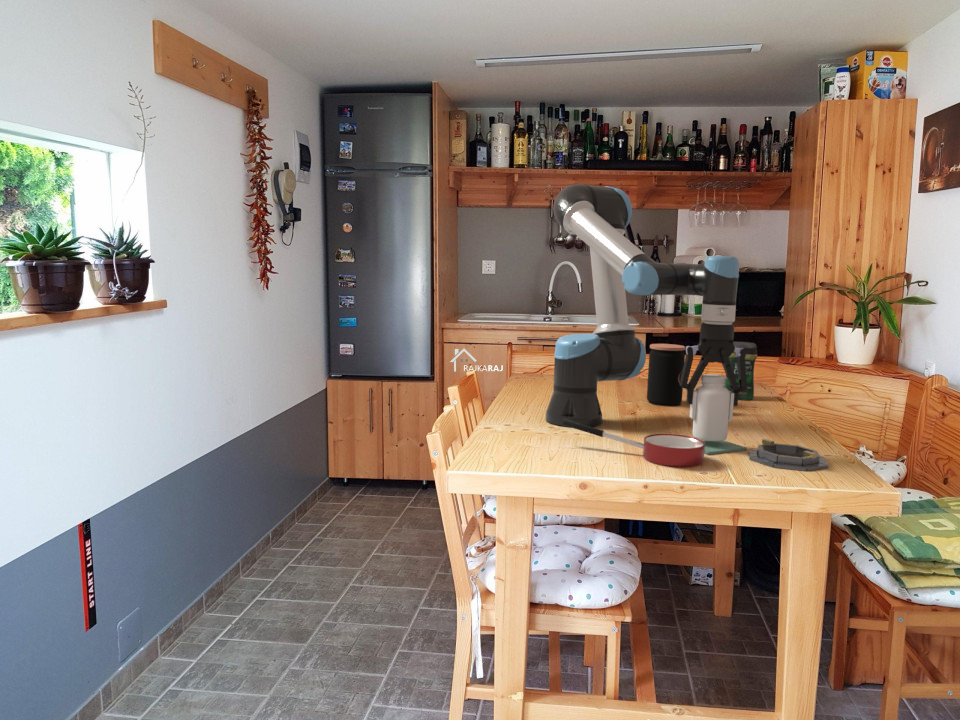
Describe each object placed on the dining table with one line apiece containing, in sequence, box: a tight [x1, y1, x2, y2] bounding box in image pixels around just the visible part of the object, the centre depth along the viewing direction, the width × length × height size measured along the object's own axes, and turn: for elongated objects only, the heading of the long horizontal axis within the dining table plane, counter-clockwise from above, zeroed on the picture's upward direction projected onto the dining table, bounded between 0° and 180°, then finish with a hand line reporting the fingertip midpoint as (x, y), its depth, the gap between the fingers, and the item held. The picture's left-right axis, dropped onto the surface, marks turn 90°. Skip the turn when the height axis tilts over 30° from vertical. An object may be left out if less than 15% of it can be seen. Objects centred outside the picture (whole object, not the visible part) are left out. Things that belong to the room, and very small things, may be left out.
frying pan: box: [563, 419, 705, 468], centre depth 165 cm, size 32×13×6 cm, turn 71°
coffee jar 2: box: [723, 341, 758, 401], centre depth 239 cm, size 10×8×19 cm
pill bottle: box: [692, 373, 730, 441], centre depth 174 cm, size 8×8×15 cm
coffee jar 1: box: [646, 343, 686, 407], centre depth 227 cm, size 11×11×18 cm
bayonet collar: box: [748, 438, 829, 472], centre depth 164 cm, size 16×16×3 cm
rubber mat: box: [700, 439, 748, 456], centre depth 175 cm, size 12×12×1 cm
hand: (710, 418), depth 174 cm, fingers closed on pill bottle, 8 cm apart
